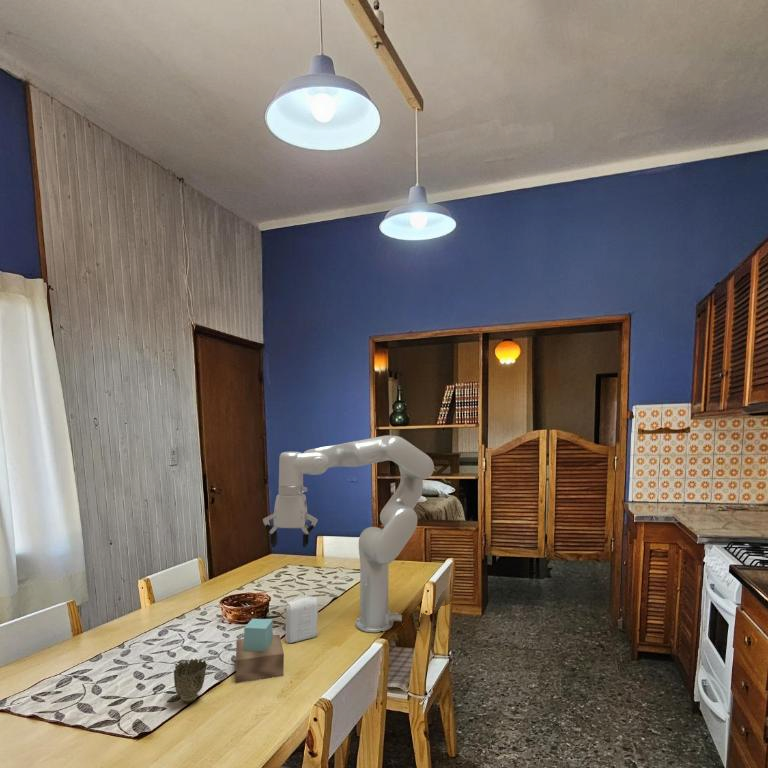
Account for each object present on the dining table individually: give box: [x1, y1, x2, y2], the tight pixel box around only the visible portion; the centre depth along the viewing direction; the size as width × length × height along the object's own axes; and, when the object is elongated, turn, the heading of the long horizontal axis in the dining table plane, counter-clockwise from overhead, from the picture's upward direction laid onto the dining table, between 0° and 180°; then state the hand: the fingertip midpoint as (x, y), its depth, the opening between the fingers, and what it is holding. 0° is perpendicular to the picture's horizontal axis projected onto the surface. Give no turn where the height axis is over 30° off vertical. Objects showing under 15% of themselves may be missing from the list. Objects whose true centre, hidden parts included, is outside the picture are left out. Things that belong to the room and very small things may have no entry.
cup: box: [173, 658, 208, 704], centre depth 115 cm, size 8×7×8 cm
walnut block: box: [235, 634, 285, 684], centre depth 130 cm, size 12×12×6 cm
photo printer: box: [284, 595, 319, 644], centre depth 148 cm, size 10×4×12 cm, turn 123°
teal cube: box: [243, 618, 274, 652], centre depth 131 cm, size 6×6×6 cm
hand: (289, 546), depth 149 cm, fingers open, 9 cm apart
